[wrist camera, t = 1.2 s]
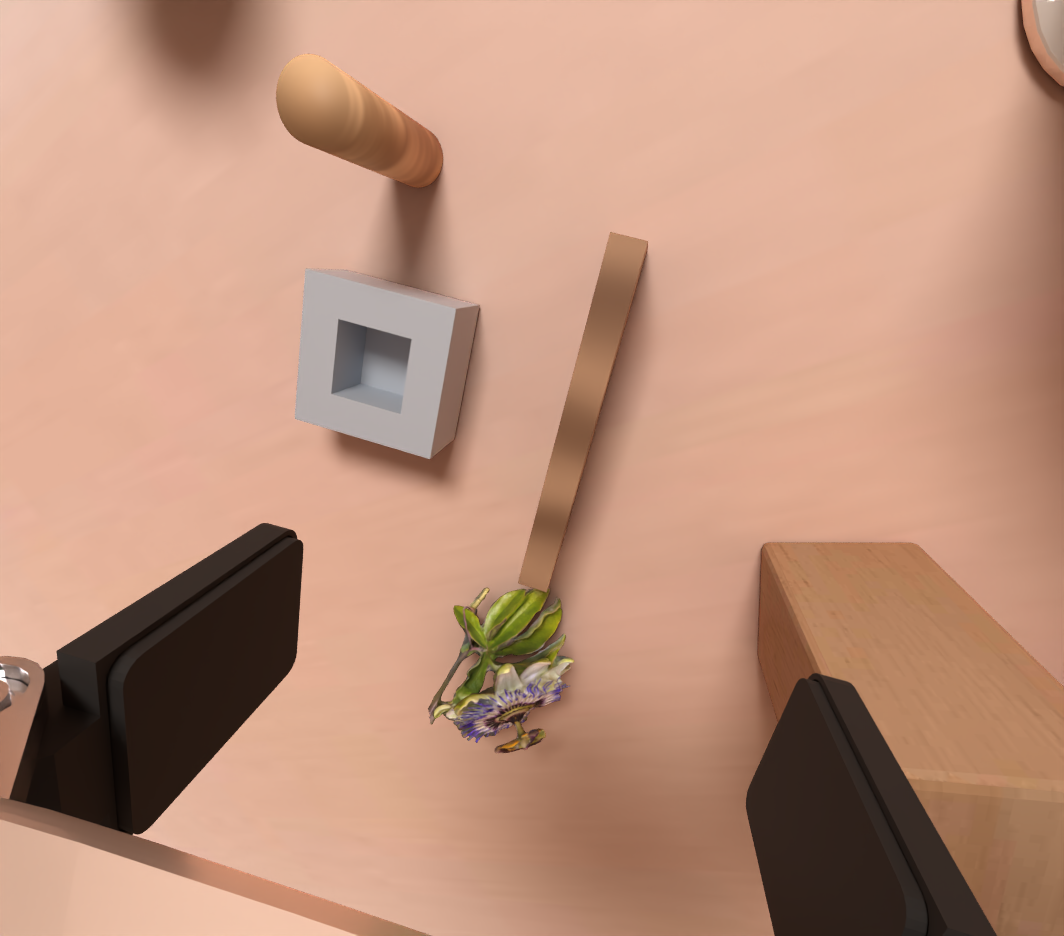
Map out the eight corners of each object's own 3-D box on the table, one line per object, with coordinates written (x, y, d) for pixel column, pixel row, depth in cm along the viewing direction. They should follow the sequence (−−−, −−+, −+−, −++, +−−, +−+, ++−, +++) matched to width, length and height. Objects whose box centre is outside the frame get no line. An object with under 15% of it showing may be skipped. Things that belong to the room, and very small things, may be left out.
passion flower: (550, 631, 52) (502, 764, 45) (452, 576, 49) (387, 709, 43) (616, 614, 42) (568, 779, 36) (500, 546, 40) (426, 710, 34)
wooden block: (756, 655, 42) (843, 951, 24) (760, 539, 39) (864, 775, 20) (900, 662, 40) (1121, 993, 21) (917, 539, 37) (1191, 802, 18)
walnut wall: (617, 241, 34) (610, 232, 28) (647, 248, 34) (648, 241, 28) (537, 536, 42) (518, 583, 36) (561, 544, 42) (546, 592, 36)
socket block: (346, 269, 38) (305, 268, 34) (479, 305, 37) (456, 308, 33) (333, 403, 42) (294, 418, 37) (454, 438, 41) (429, 459, 36)
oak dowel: (396, 121, 35) (278, 46, 24) (447, 133, 34) (352, 62, 23) (389, 181, 36) (274, 136, 25) (438, 192, 36) (344, 153, 25)
